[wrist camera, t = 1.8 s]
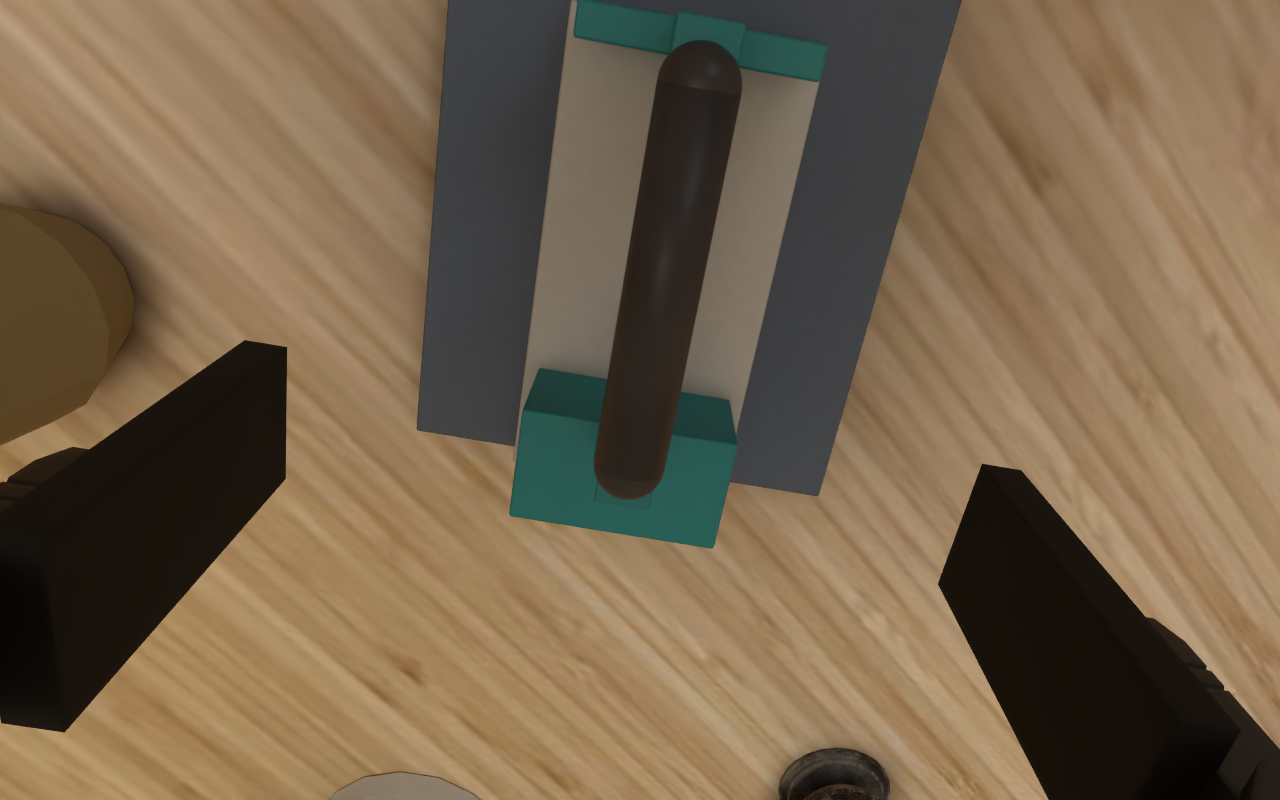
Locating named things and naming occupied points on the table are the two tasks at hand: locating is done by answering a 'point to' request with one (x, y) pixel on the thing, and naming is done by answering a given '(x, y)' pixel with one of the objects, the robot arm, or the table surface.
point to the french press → (402, 789)
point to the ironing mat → (811, 245)
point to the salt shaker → (835, 777)
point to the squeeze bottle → (55, 317)
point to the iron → (656, 265)
